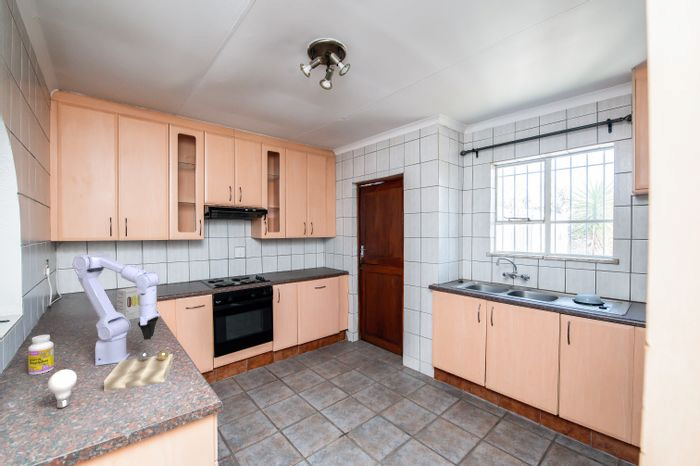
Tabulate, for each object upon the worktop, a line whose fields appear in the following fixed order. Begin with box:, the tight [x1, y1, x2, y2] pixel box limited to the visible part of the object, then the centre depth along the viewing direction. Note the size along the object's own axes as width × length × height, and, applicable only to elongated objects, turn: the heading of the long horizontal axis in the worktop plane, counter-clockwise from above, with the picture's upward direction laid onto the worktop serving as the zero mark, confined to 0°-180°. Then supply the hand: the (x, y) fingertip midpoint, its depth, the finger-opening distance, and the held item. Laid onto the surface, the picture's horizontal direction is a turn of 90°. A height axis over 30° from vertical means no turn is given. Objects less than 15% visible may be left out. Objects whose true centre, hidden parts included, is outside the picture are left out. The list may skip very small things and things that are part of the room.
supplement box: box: [116, 286, 140, 321], centre depth 178 cm, size 10×9×17 cm
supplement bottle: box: [27, 334, 55, 376], centre depth 113 cm, size 7×7×13 cm
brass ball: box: [156, 349, 169, 360], centre depth 115 cm, size 4×4×4 cm
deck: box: [103, 353, 174, 392], centre depth 110 cm, size 17×16×4 cm
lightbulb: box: [47, 368, 78, 409], centre depth 91 cm, size 6×6×11 cm
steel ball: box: [137, 350, 150, 361], centre depth 115 cm, size 4×4×4 cm
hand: (148, 337), depth 121 cm, fingers open, 2 cm apart
